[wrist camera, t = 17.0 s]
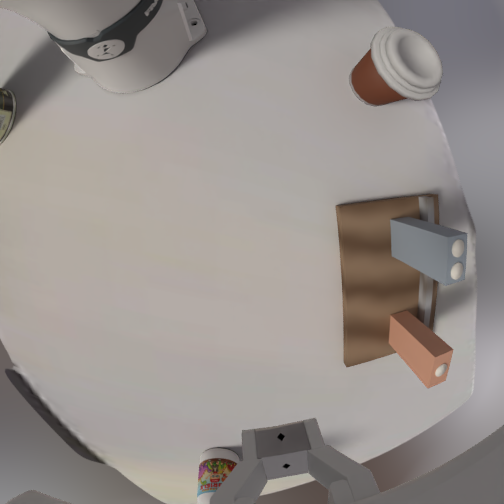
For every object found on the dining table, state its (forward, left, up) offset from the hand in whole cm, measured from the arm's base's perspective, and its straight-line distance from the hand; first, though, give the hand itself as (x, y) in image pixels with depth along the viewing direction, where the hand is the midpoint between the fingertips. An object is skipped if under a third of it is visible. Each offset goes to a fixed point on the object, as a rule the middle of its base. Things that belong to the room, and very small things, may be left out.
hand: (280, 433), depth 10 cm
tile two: (0, +20, -26) cm, 33 cm away
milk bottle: (+39, -12, -27) cm, 49 cm away
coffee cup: (-21, +20, -27) cm, 40 cm away
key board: (+7, +20, -27) cm, 34 cm away
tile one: (+14, +20, -26) cm, 36 cm away
